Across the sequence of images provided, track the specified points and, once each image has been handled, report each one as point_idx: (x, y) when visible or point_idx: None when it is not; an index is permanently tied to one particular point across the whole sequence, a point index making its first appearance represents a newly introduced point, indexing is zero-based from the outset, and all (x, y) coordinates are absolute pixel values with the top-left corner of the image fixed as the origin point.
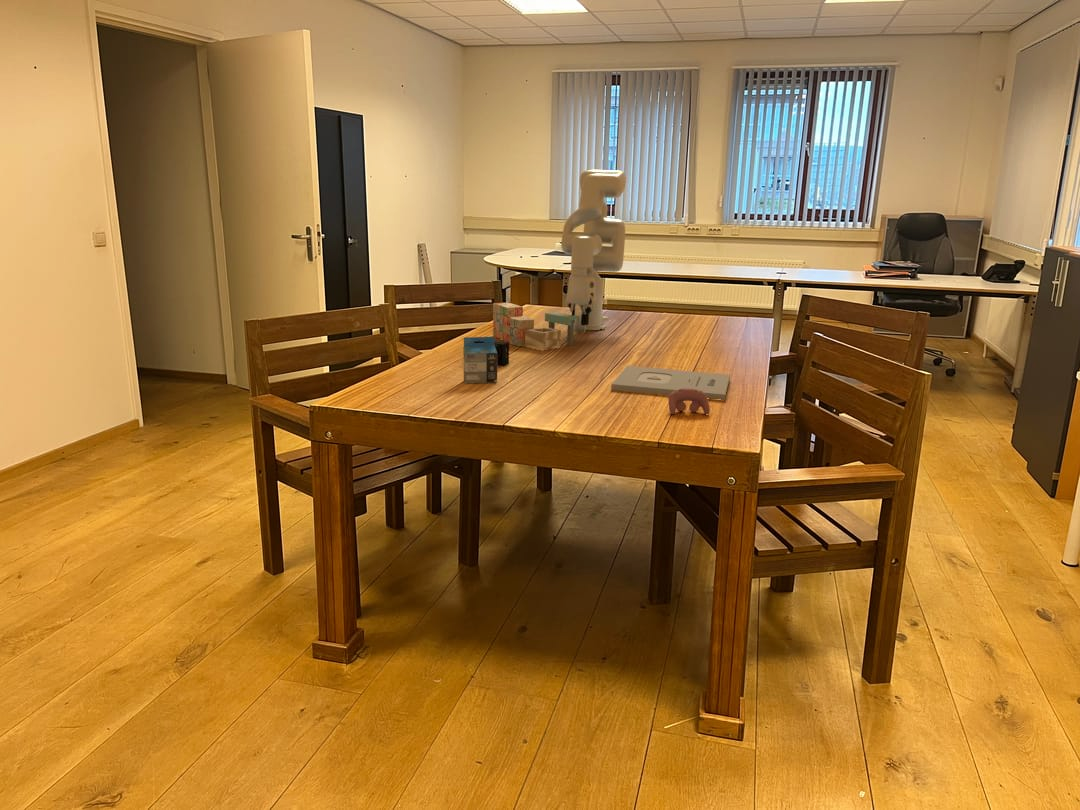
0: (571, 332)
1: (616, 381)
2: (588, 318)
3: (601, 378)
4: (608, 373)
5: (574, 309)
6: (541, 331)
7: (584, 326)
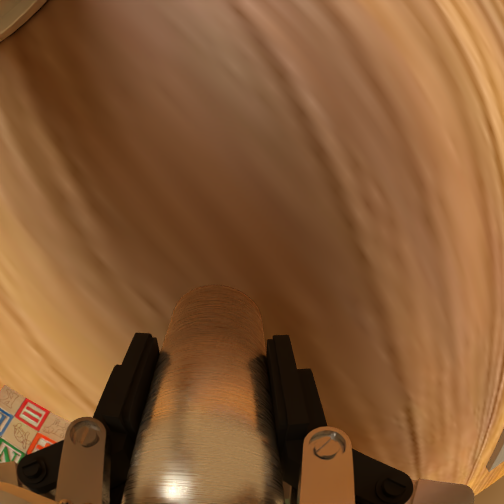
0: None
1: (494, 465)
2: (318, 398)
3: (473, 463)
4: (481, 448)
5: (122, 475)
6: None
7: (265, 349)
